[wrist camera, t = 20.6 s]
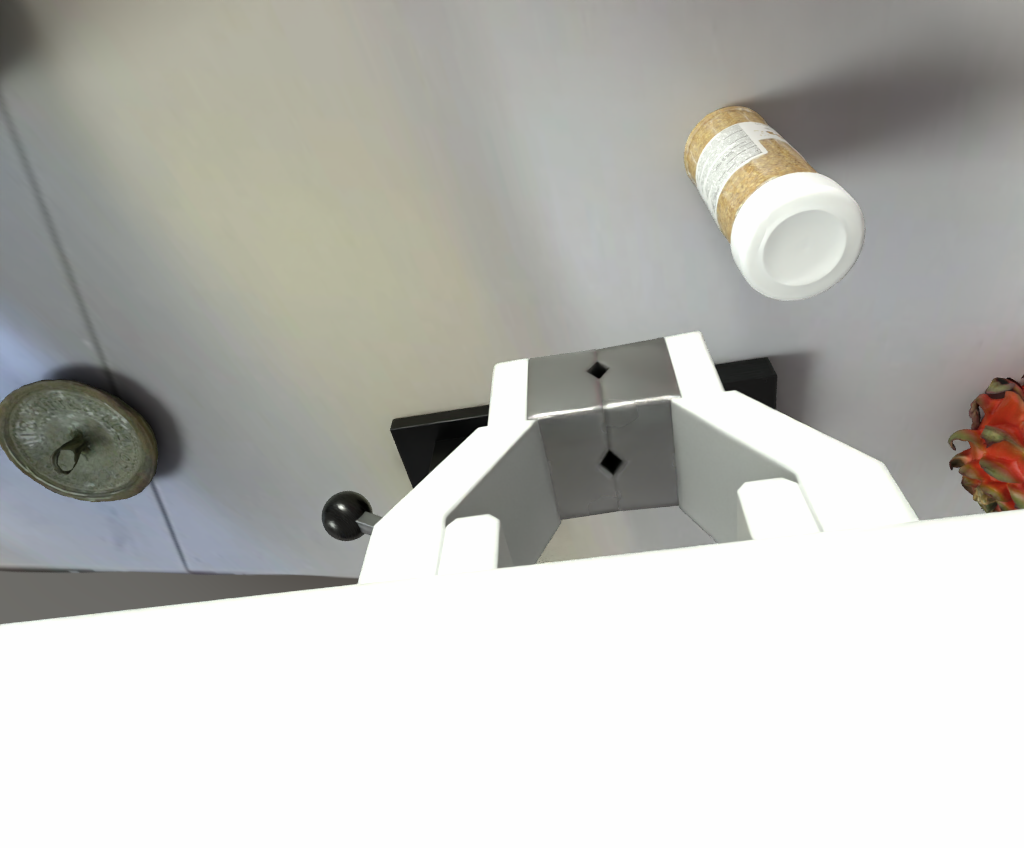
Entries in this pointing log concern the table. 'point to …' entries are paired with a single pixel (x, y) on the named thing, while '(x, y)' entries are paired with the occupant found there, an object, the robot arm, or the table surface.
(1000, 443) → the dragon fruit
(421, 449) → the switch bracket
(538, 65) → the table surface
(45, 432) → the metal shank button
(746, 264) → the spice jar
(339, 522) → the lever
